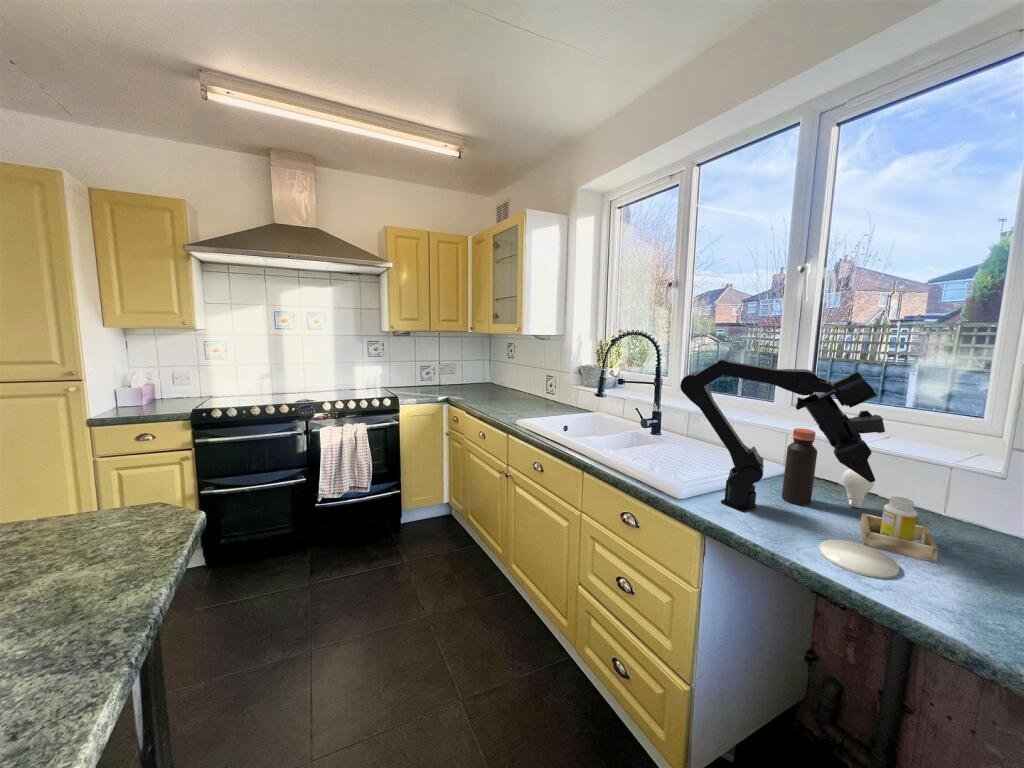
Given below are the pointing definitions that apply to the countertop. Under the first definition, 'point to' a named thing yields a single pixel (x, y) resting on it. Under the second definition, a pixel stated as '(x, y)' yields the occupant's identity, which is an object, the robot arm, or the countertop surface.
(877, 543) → the bin frame
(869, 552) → the plate
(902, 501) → the supplement bottle
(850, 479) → the light bulb
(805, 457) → the vinegar
